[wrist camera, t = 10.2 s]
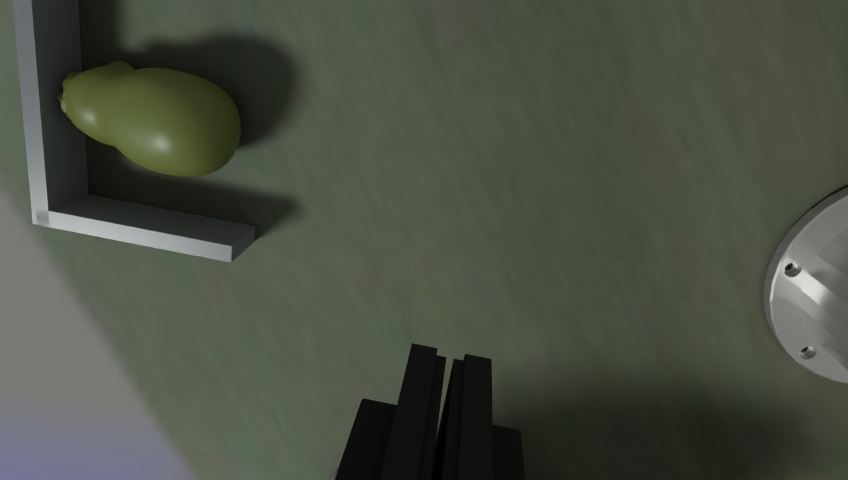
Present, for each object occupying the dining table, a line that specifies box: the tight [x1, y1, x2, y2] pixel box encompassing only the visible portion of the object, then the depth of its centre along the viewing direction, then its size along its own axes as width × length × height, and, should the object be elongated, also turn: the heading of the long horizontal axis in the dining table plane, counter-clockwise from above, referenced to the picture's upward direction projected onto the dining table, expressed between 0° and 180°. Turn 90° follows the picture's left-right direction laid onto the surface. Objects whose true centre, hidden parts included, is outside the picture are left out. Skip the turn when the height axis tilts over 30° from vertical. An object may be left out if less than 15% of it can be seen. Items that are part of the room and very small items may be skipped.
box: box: [13, 0, 256, 262], centre depth 31 cm, size 12×16×4 cm
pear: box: [57, 61, 241, 177], centre depth 31 cm, size 6×5×10 cm
